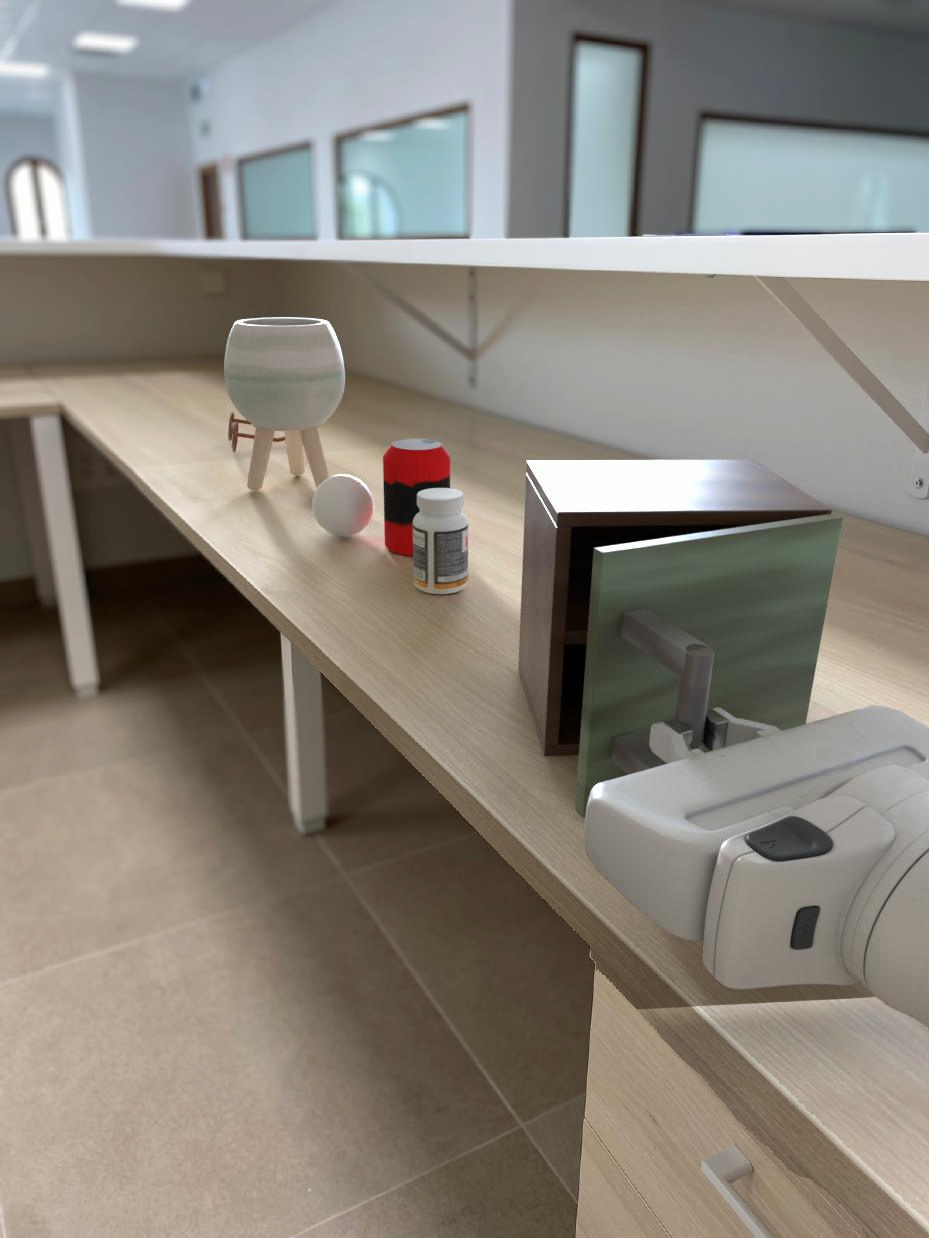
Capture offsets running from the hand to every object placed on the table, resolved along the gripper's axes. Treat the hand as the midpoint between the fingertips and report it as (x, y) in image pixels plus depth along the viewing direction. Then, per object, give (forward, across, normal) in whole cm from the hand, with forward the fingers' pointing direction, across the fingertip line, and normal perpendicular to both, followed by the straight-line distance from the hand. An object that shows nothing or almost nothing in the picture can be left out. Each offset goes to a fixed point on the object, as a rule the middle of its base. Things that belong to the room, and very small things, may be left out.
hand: (681, 726), depth 52 cm
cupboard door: (+2, -7, +9) cm, 11 cm away
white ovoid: (+68, -4, +10) cm, 69 cm away
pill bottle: (+46, -7, +10) cm, 48 cm away
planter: (+92, -5, +10) cm, 92 cm away
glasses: (+118, -9, +10) cm, 119 cm away
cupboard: (+16, -10, +9) cm, 21 cm away
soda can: (+59, -10, +10) cm, 61 cm away
